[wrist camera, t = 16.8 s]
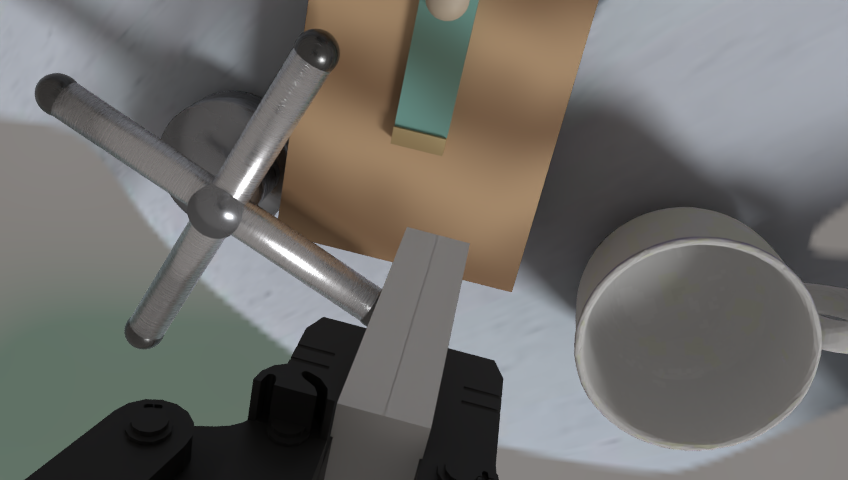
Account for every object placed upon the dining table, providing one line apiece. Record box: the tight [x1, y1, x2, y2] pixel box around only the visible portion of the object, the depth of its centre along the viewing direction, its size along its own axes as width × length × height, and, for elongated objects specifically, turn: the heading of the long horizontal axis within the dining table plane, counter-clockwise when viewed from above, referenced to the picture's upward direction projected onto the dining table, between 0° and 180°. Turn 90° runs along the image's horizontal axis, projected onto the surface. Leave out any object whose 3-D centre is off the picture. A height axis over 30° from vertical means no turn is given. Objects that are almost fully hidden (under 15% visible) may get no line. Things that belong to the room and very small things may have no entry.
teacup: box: [574, 207, 848, 451], centre depth 38 cm, size 14×11×8 cm
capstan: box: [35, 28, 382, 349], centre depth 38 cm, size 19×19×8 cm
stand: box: [278, 0, 599, 292], centre depth 35 cm, size 18×12×7 cm, turn 168°
